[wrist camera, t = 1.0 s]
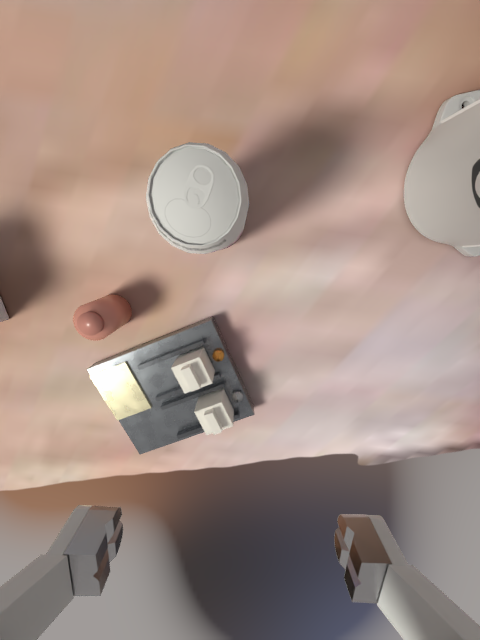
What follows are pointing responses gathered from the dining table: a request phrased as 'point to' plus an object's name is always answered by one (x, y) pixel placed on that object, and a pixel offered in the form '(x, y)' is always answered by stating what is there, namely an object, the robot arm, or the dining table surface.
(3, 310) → the ink cartridge box
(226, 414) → the toggle
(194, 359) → the toggle
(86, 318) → the cap
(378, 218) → the dining table surface
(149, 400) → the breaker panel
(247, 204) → the supplement can
